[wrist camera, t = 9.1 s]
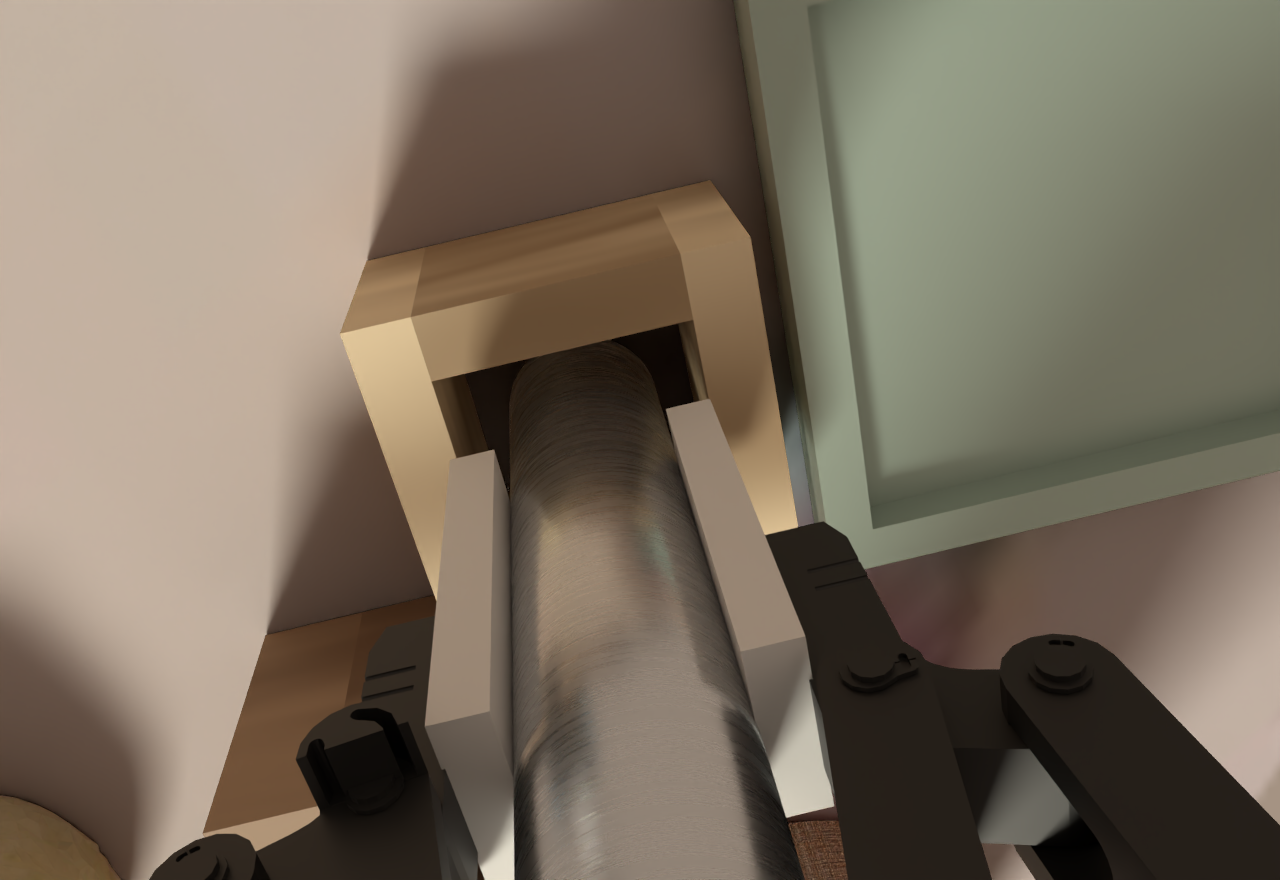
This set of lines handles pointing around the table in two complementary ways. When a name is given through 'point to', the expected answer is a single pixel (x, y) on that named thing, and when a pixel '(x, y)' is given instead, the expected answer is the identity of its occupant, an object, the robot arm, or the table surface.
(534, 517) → the cylinder
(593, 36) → the table surface
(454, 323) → the block
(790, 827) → the planter
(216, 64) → the table surface
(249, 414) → the table surface
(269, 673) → the block
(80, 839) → the decorative item
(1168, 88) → the tray
